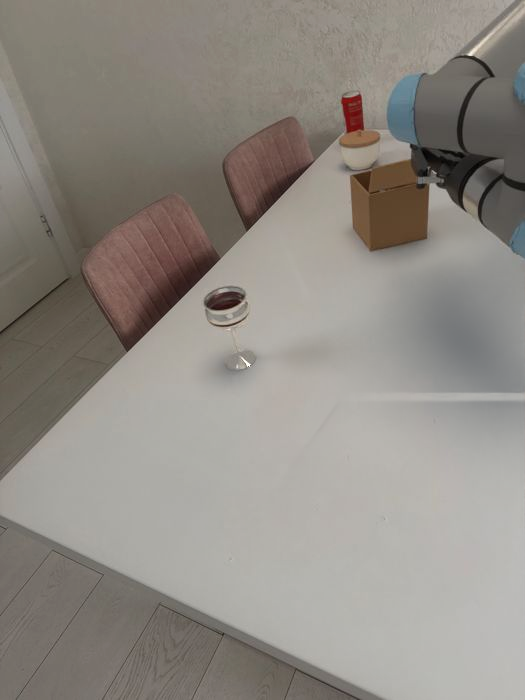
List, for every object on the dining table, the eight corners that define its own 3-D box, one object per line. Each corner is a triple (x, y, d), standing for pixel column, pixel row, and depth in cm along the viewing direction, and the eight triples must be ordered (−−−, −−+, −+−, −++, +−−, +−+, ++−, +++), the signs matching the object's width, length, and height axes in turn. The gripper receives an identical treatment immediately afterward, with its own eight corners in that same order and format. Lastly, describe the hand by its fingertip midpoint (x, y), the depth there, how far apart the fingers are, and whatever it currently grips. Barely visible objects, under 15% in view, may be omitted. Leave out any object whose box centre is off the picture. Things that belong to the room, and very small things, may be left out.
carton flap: (429, 177, 93) (429, 179, 93) (368, 191, 92) (369, 192, 92) (436, 152, 88) (436, 154, 87) (371, 167, 87) (372, 168, 87)
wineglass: (269, 352, 81) (256, 290, 73) (244, 378, 77) (228, 315, 69) (236, 342, 84) (220, 282, 77) (211, 366, 80) (192, 305, 73)
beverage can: (367, 143, 149) (365, 88, 140) (361, 151, 145) (358, 95, 136) (348, 143, 152) (345, 90, 142) (341, 151, 147) (338, 96, 138)
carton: (427, 238, 100) (429, 181, 93) (370, 251, 100) (368, 195, 93) (404, 215, 110) (405, 162, 102) (352, 227, 109) (349, 174, 102)
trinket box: (332, 169, 137) (330, 134, 132) (358, 156, 142) (357, 121, 136) (362, 176, 130) (361, 139, 125) (389, 162, 135) (388, 125, 129)
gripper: (437, 227, 65) (376, 169, 83) (533, 205, 65) (451, 153, 84) (440, 170, 60) (375, 122, 79) (544, 147, 60) (454, 105, 79)
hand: (414, 138), depth 81 cm, fingers closed
